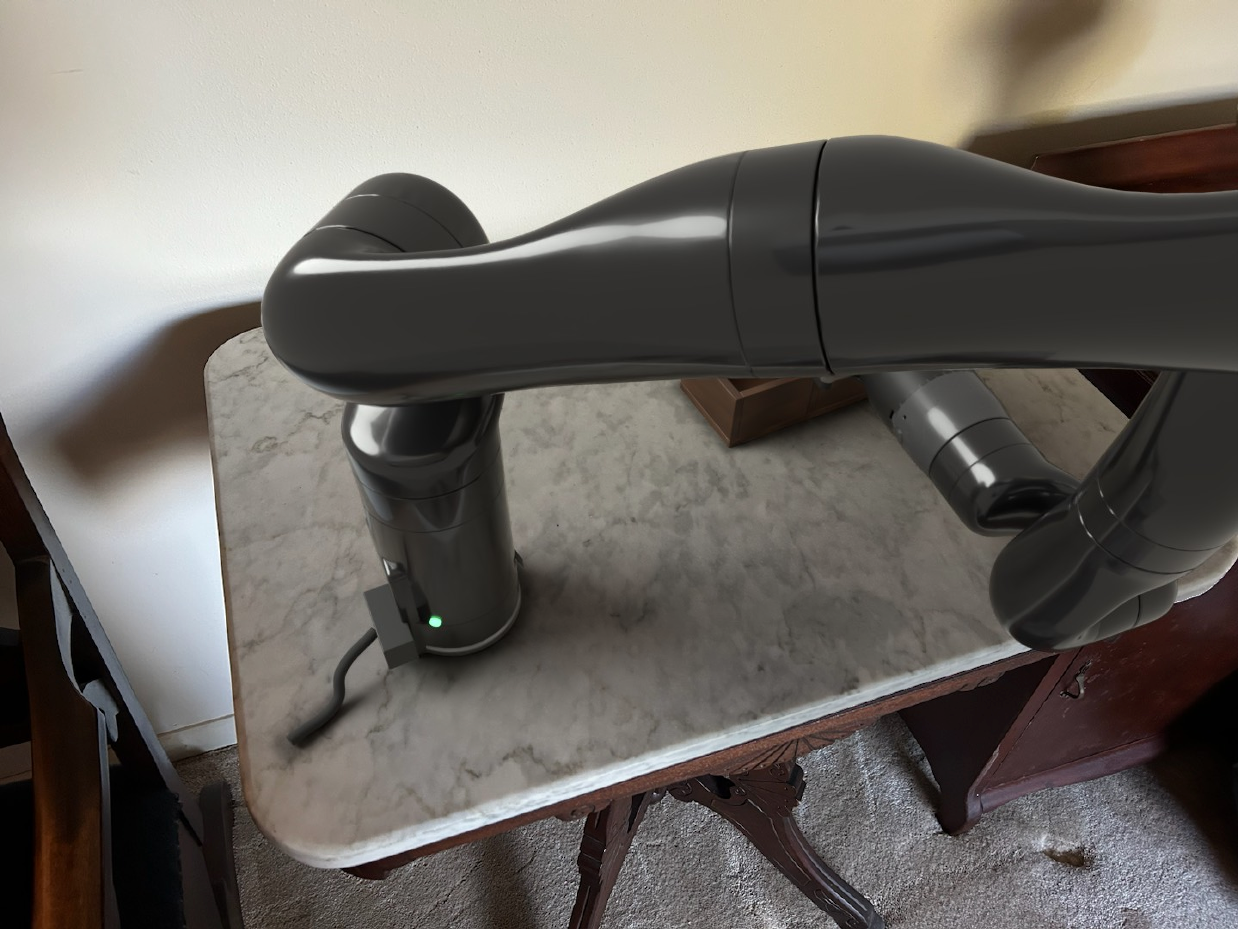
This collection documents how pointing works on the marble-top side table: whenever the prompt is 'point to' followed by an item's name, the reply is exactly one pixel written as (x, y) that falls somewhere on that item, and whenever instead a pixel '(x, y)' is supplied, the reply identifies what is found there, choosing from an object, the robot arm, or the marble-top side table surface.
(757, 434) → the wooden compartment box
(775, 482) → the marble-top side table surface
